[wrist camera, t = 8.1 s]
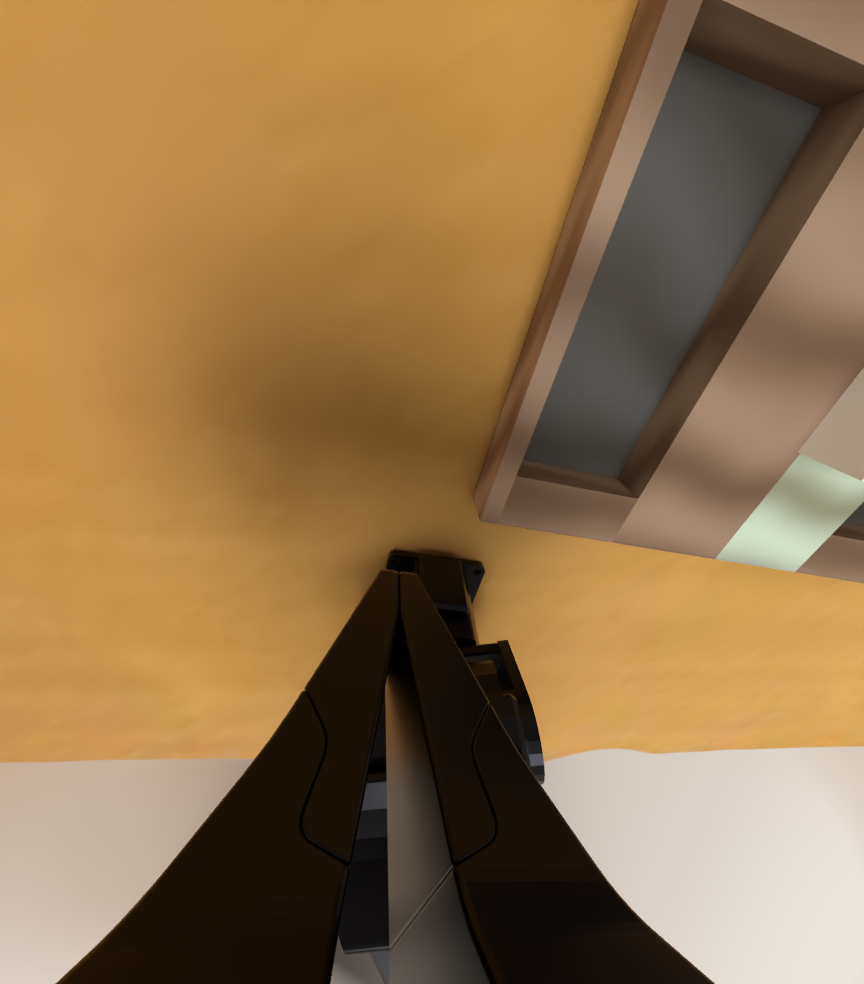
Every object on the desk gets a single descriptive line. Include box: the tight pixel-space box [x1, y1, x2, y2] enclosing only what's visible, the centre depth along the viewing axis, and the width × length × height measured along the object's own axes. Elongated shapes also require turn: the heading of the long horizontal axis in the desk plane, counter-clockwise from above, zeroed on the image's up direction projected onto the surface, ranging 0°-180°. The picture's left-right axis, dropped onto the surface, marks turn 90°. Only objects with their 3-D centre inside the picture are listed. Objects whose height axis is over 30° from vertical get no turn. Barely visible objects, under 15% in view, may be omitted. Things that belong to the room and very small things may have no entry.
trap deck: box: [473, 0, 864, 583], centre depth 17 cm, size 22×30×2 cm
